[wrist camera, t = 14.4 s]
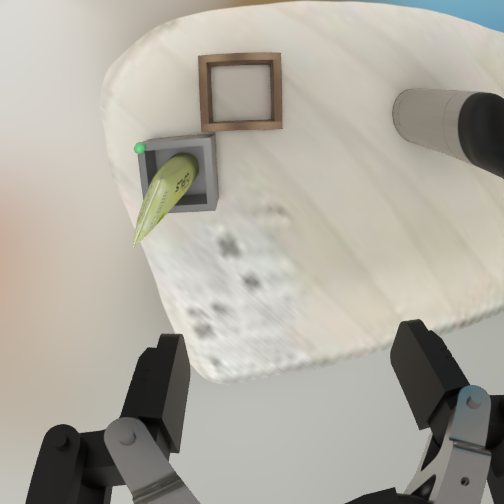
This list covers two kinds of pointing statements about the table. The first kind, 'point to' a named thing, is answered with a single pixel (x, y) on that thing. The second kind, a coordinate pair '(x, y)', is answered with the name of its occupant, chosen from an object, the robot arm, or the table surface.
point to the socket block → (206, 184)
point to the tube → (165, 191)
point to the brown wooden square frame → (240, 59)
